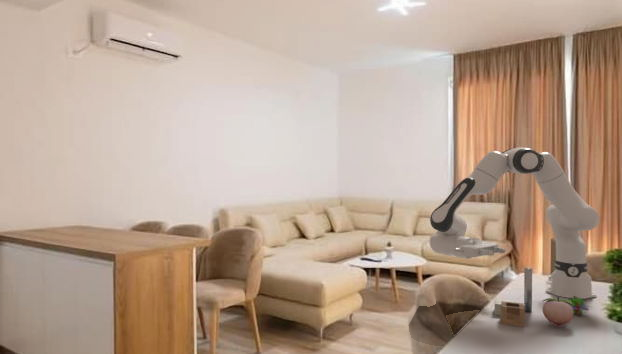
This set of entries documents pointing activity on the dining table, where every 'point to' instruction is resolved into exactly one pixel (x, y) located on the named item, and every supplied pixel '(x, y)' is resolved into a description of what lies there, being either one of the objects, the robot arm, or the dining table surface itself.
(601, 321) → the dining table surface
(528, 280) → the pin gauge
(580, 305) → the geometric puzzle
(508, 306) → the brown cube-like block
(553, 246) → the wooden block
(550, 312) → the decorative fruit
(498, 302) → the block
